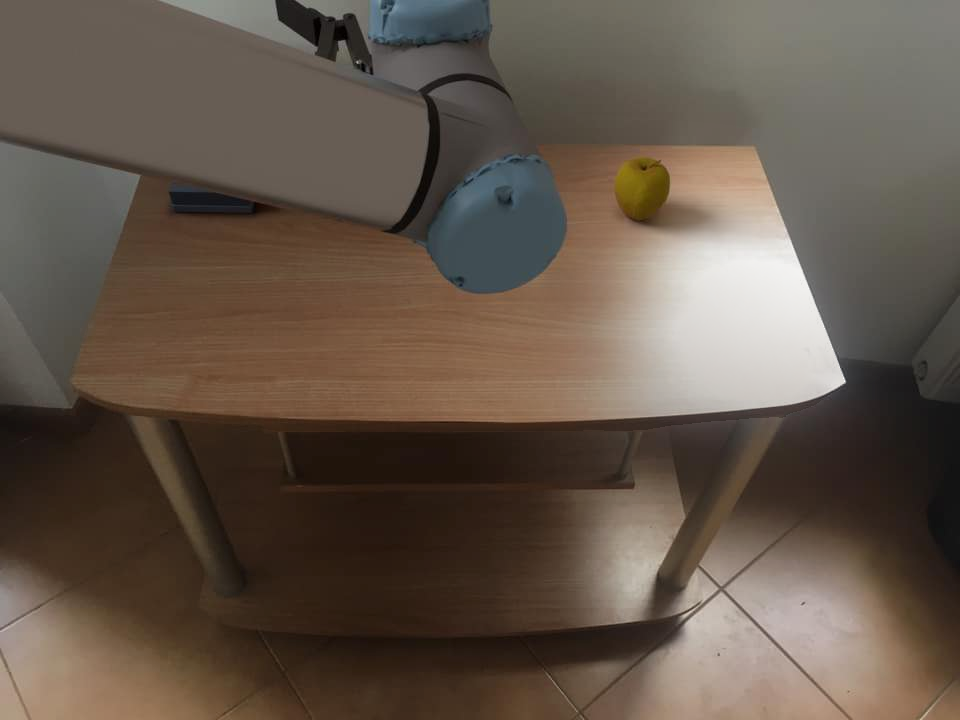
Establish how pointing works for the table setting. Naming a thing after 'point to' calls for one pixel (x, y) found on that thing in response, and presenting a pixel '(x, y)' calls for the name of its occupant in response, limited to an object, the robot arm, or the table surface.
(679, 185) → the table surface
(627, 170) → the apple
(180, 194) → the socket pad
